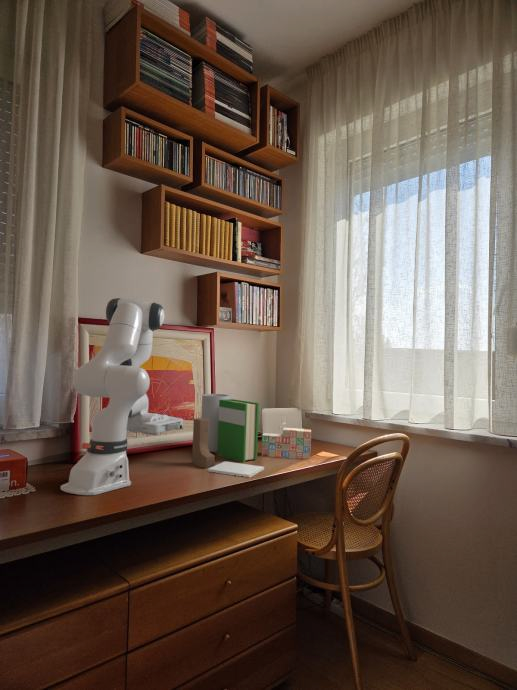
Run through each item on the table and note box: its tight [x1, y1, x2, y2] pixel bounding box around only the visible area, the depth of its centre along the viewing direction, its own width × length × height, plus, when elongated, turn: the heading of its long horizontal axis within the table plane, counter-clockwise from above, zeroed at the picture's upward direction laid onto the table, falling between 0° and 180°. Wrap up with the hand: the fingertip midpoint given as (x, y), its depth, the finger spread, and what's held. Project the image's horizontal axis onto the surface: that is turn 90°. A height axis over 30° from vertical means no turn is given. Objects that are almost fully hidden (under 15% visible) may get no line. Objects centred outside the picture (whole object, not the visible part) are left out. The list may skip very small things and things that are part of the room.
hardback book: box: [216, 398, 260, 464], centre depth 197 cm, size 18×7×24 cm, turn 42°
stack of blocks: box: [261, 427, 312, 460], centre depth 202 cm, size 21×6×12 cm, turn 81°
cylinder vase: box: [200, 393, 230, 453], centre depth 211 cm, size 12×12×25 cm
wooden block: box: [191, 417, 216, 469], centre depth 180 cm, size 9×4×18 cm, turn 45°
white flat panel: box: [207, 460, 265, 478], centre depth 174 cm, size 14×17×1 cm
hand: (180, 427), depth 185 cm, fingers closed
